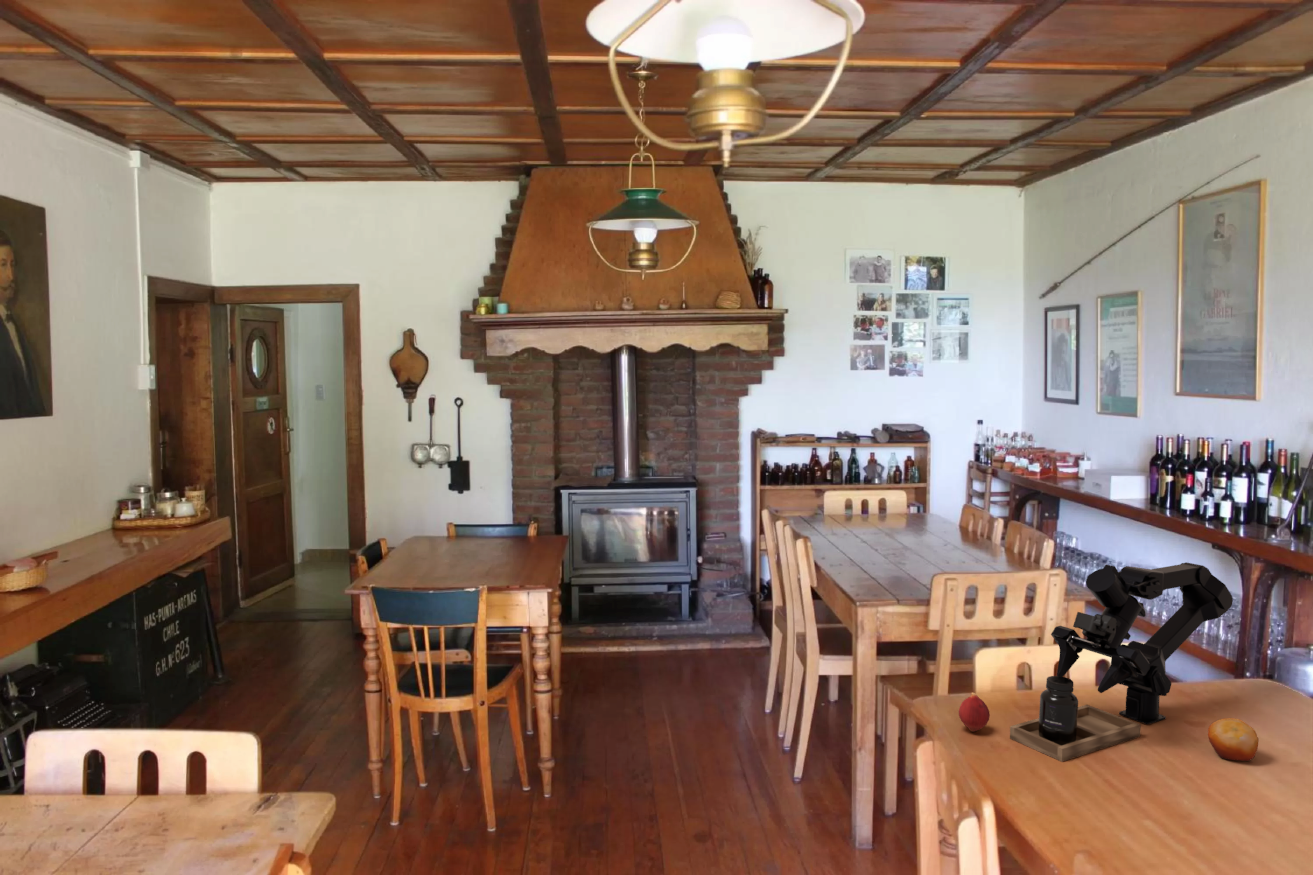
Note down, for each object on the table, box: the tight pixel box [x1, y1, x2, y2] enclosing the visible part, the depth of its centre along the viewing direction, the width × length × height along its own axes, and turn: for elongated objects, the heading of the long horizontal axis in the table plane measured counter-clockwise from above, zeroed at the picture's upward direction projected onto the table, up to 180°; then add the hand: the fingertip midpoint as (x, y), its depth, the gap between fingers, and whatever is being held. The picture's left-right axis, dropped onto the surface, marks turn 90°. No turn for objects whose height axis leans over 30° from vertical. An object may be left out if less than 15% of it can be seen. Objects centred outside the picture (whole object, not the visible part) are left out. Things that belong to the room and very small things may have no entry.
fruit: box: [1207, 717, 1260, 762], centre depth 173 cm, size 8×8×8 cm
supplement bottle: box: [1038, 675, 1079, 746], centre depth 179 cm, size 7×7×12 cm
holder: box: [1009, 704, 1142, 763], centre depth 182 cm, size 23×12×2 cm, turn 118°
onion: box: [958, 692, 991, 732], centre depth 185 cm, size 6×6×8 cm
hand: (1078, 684), depth 181 cm, fingers open, 9 cm apart
